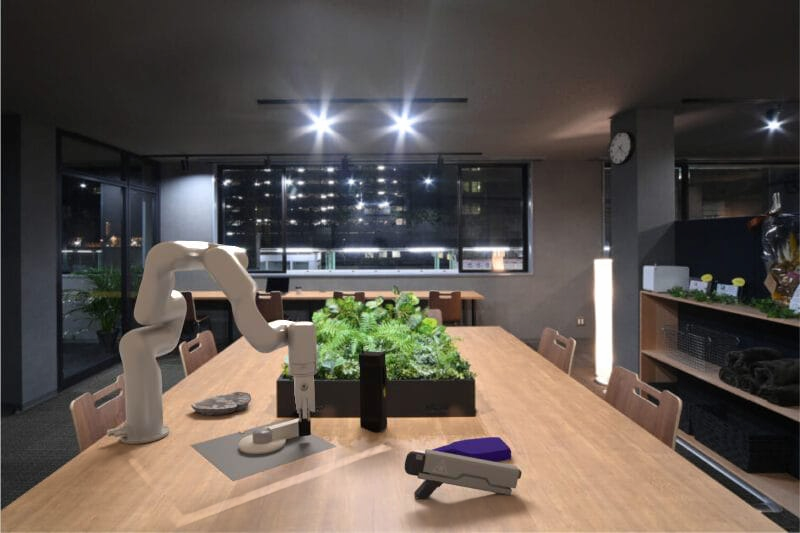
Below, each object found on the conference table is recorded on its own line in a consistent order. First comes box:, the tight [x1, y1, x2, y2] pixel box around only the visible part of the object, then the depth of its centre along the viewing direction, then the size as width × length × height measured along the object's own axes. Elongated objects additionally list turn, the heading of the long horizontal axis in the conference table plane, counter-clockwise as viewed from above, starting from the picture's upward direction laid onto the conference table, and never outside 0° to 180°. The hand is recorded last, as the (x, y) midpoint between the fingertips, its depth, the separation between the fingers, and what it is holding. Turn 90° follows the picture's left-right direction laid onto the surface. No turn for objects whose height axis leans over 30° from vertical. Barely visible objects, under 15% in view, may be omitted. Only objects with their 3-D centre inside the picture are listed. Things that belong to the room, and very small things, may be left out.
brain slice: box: [190, 391, 252, 416], centre depth 166 cm, size 20×17×3 cm
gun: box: [403, 448, 522, 500], centre depth 105 cm, size 2×25×10 cm, turn 93°
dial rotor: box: [239, 417, 299, 454], centre depth 132 cm, size 18×12×4 cm, turn 132°
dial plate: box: [190, 419, 337, 482], centre depth 130 cm, size 28×28×2 cm
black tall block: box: [358, 344, 389, 433], centre depth 145 cm, size 8×6×25 cm
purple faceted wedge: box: [414, 436, 512, 463], centre depth 125 cm, size 3×11×24 cm
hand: (304, 434), depth 132 cm, fingers closed
